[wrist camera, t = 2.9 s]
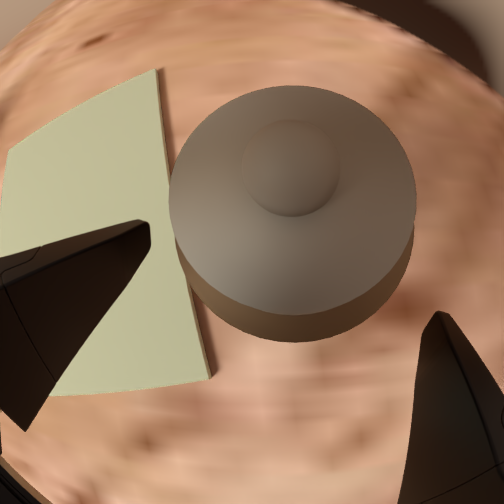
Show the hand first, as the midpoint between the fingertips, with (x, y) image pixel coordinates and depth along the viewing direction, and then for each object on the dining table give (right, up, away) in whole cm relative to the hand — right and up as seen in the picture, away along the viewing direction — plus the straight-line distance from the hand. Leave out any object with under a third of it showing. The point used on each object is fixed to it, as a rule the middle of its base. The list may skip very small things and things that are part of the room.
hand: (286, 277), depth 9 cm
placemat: (-15, +2, +12) cm, 19 cm away
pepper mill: (+2, -1, +9) cm, 9 cm away
